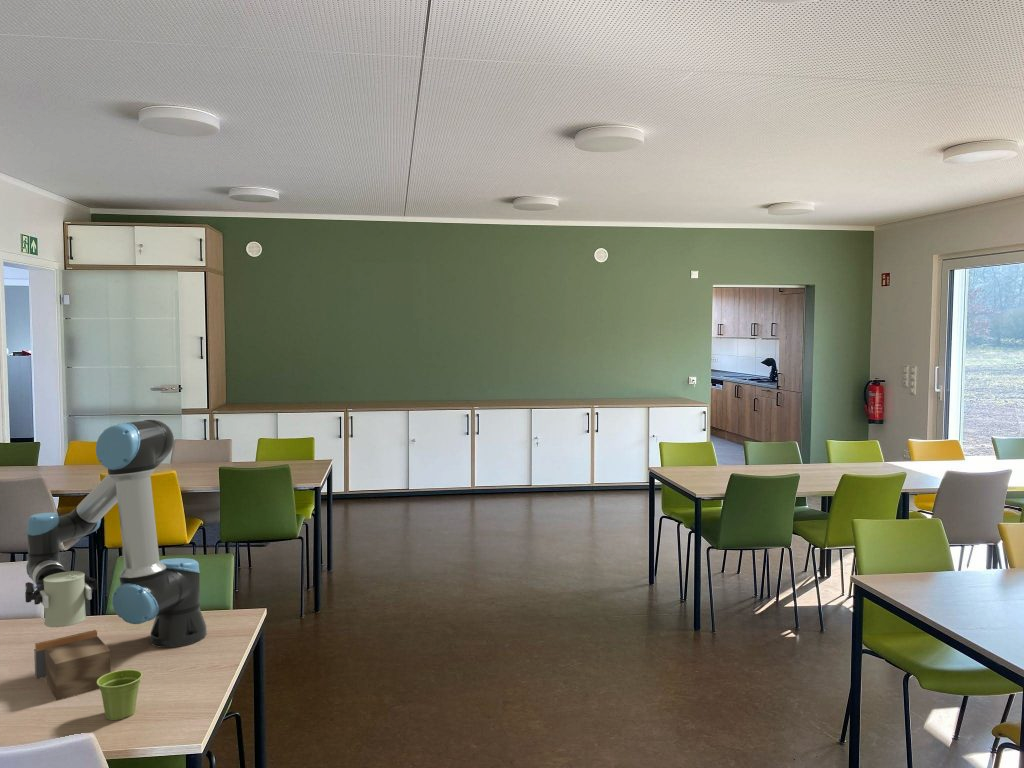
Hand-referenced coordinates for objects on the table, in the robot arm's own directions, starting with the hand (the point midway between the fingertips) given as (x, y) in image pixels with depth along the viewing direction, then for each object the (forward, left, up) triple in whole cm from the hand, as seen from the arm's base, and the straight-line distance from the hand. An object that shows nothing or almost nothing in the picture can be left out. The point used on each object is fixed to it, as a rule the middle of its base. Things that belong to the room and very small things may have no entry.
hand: (68, 598), depth 188 cm
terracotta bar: (+5, -10, -15) cm, 19 cm away
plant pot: (-18, +17, -22) cm, 34 cm away
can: (+3, -4, -7) cm, 9 cm away
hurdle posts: (+5, -10, -22) cm, 25 cm away
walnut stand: (-2, 0, -22) cm, 22 cm away
